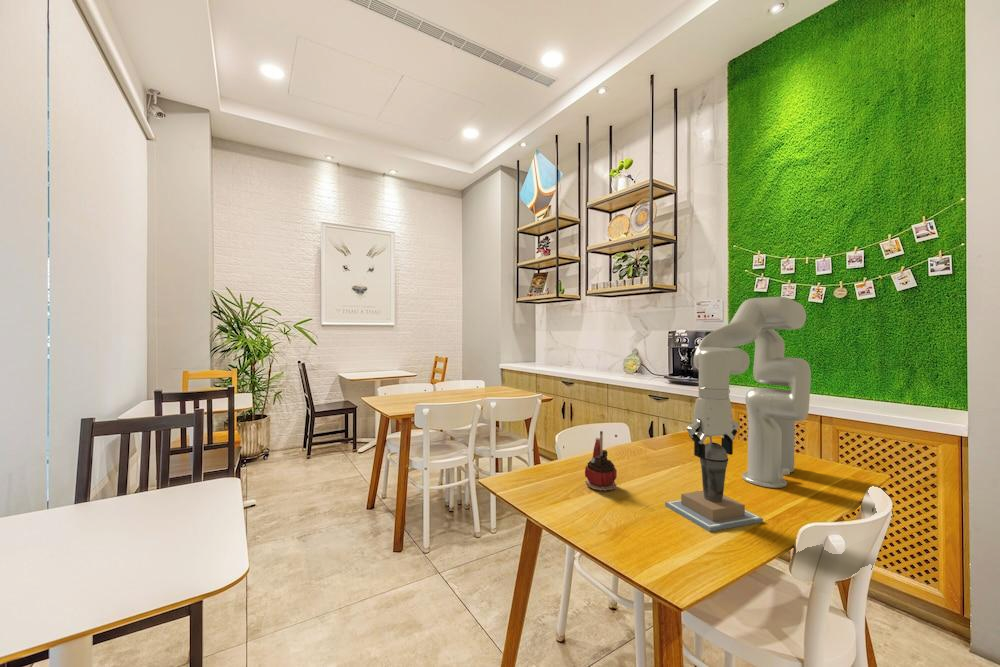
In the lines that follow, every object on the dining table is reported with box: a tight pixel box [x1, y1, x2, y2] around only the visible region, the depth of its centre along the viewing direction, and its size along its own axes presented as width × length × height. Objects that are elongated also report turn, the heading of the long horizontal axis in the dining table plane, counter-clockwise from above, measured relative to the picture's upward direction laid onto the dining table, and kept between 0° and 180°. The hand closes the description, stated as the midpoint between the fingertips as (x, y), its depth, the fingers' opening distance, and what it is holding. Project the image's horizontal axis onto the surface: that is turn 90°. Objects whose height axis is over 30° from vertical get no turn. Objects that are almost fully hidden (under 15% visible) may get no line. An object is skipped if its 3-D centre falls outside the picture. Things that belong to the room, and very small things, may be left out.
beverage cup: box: [699, 436, 729, 502], centre depth 112 cm, size 7×7×20 cm
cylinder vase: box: [774, 418, 796, 473], centre depth 150 cm, size 12×12×25 cm
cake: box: [584, 430, 618, 491], centre depth 131 cm, size 11×9×18 cm
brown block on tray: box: [664, 490, 764, 533], centre depth 112 cm, size 18×16×4 cm
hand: (713, 455), depth 112 cm, fingers open, 9 cm apart
